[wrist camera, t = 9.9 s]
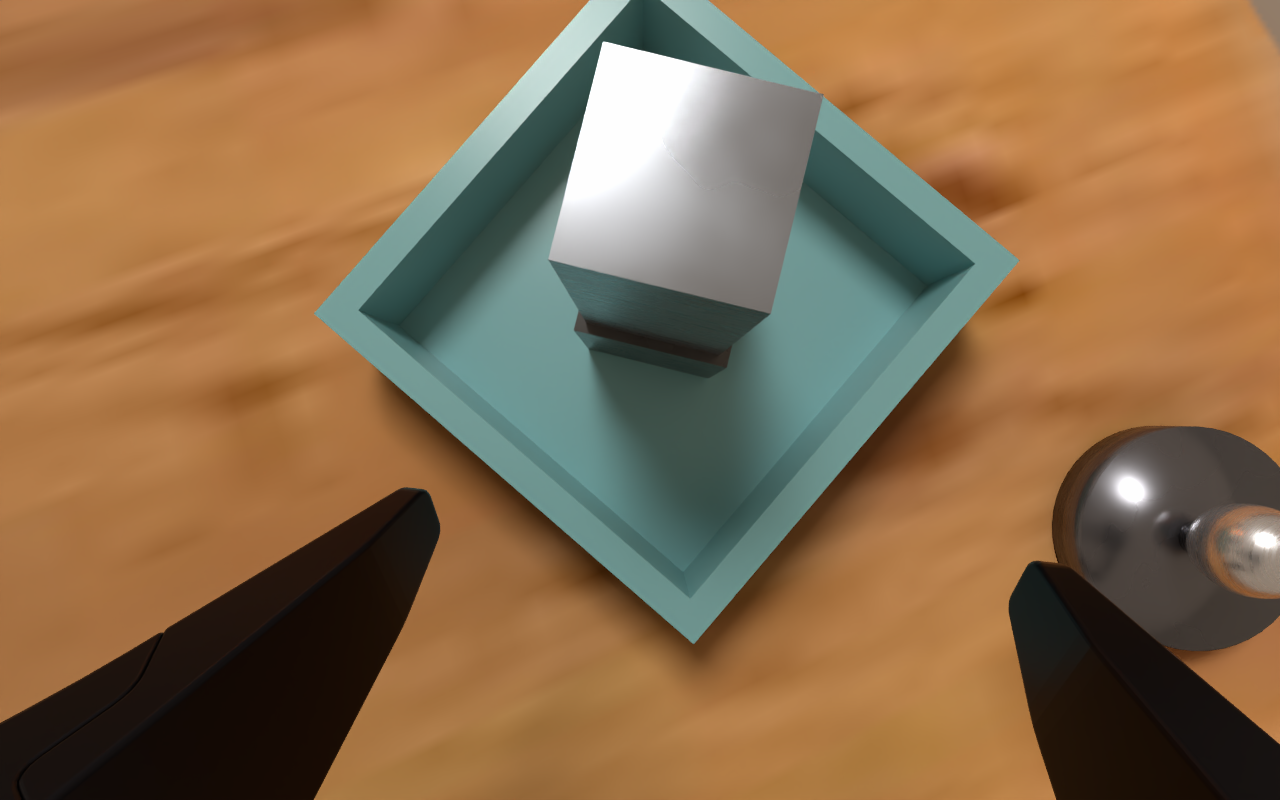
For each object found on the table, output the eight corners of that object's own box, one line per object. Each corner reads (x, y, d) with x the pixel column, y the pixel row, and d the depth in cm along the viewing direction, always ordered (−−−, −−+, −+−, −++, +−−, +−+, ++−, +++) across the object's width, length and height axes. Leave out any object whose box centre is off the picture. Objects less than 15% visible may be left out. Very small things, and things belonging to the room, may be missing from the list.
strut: (708, 378, 21) (783, 334, 10) (588, 349, 21) (527, 271, 10) (737, 259, 21) (844, 82, 10) (618, 230, 21) (591, 21, 10)
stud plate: (1171, 678, 21) (1326, 754, 16) (1010, 540, 21) (1116, 576, 17) (1303, 518, 21) (1494, 548, 17) (1141, 383, 22) (1285, 373, 17)
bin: (684, 601, 21) (693, 644, 17) (374, 332, 22) (314, 313, 18) (949, 289, 22) (1019, 260, 18) (640, 29, 22) (640, -57, 18)
